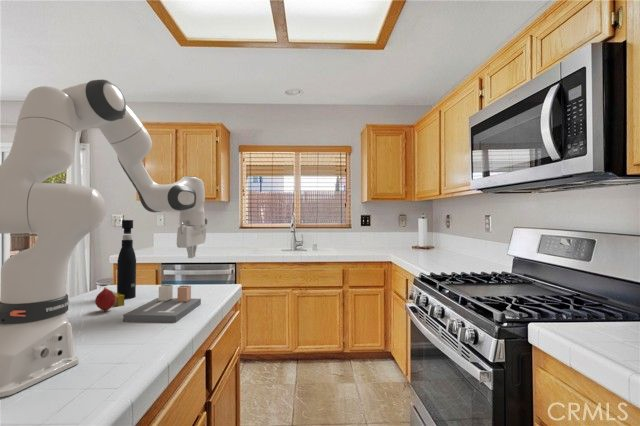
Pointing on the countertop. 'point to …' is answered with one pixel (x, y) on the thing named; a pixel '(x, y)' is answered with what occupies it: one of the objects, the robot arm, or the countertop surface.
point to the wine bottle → (126, 264)
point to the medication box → (119, 299)
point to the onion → (105, 299)
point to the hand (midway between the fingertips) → (191, 257)
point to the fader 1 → (165, 292)
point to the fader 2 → (184, 293)
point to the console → (161, 311)
